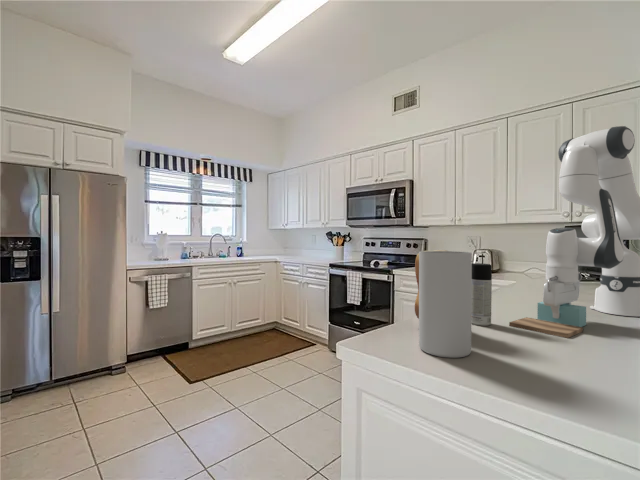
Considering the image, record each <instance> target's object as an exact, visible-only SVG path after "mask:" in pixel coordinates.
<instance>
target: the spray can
mask: <svg viewBox="0 0 640 480" xmlns="http://www.w3.org/2000/svg"><path fill="white" fill-rule="evenodd" d="M492 270H493V265H492V264H490V263H479V262H478V263H475V262H474V263H473V262H472V309H471V325H475V326H479V327H480V326H481V327H482V326H483V327H484V326H485V327H486V326H491V324H492V299H493V297H492V295H493V294H492V293H493V291H492V290H493V289H492V283H493V275H492V274H493V271H492Z"/></svg>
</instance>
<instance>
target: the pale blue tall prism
mask: <svg viewBox="0 0 640 480" xmlns="http://www.w3.org/2000/svg"><path fill="white" fill-rule="evenodd" d="M559 312H560V313H561V315H560V316H561V317H560V318H558V319H557V318H553V312H552V310H551V306H547V305H544V303H543V301H540V302H537V318H536V319H540V320H545V321H551V322H556V323H561V324H567V325H573V326H578V327H585V326H587V306H583V305H577V304H571V305H570V304H563V305H560V308H559Z"/></svg>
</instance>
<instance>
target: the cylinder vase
mask: <svg viewBox="0 0 640 480" xmlns="http://www.w3.org/2000/svg"><path fill="white" fill-rule="evenodd" d="M418 253H419V319H418V346H419V348H420V350H421V351H422V352H423V353H426V354H429V355H432V356H436V357H440V358H447V359H448V358H449V359H458V358H465V357H467V356H469V355H470V354H471V353H472V324H471V309H472V263H473V262H472V260H473V259H472V255H473V254H472V251H471V252H469V251H454V250H453V251H449V250H447V251H434V250H422V251H419V252H418Z"/></svg>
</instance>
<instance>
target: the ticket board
mask: <svg viewBox="0 0 640 480" xmlns="http://www.w3.org/2000/svg"><path fill="white" fill-rule="evenodd" d="M508 324H509V327H513V328H516V329H517V328H518V329H523V330H528V331H533V332H536V333H541V334H547V335H551V336H556V337H561V338H566V339H569V338H571V337H573V336H575V335H578V334H581V333H583V331H584V326H582V327H578V326H573V325H567V324H561V323H556V322H551V321H545V320H540V319H537V318H533V317H527V316H526V317H522V318H519V319H515V320H513V321H509V323H508Z"/></svg>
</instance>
